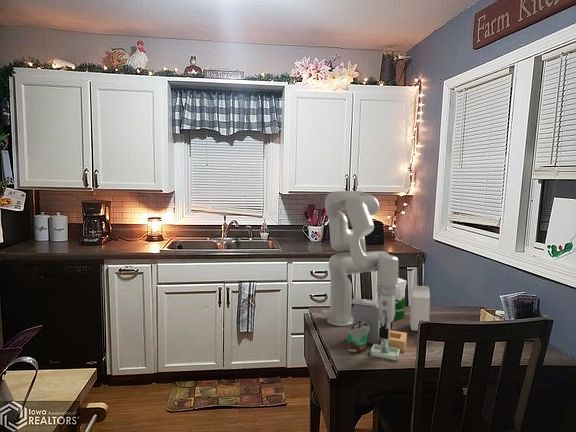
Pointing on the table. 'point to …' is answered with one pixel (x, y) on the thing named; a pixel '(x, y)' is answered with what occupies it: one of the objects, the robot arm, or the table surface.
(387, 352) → the pin
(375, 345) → the tray
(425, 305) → the milk carton
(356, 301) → the keeper plate
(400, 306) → the soya milk
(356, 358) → the table surface
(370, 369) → the table surface
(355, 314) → the hitch
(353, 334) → the food container
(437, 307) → the table surface
